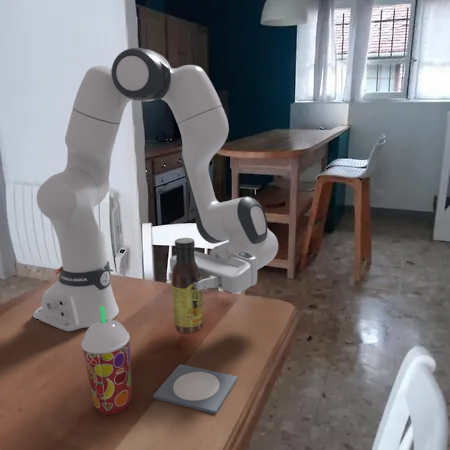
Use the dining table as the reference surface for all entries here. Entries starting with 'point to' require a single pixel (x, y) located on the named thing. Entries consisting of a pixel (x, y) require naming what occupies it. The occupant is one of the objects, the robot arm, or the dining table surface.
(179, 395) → the card
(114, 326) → the smoothie
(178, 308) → the sauce bottle
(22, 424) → the dining table surface
